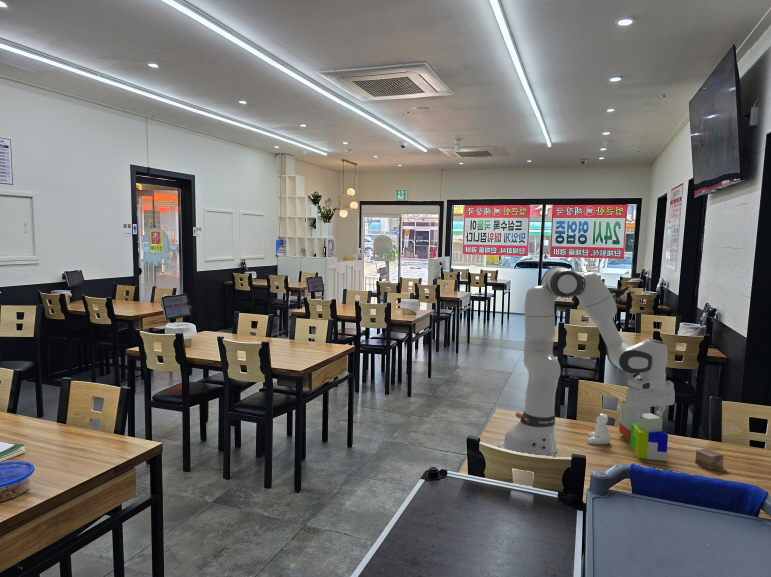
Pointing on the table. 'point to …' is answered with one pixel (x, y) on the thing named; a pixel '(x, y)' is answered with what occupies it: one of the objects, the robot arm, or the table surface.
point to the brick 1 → (650, 423)
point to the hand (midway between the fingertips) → (649, 417)
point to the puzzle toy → (649, 443)
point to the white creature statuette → (600, 432)
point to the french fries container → (629, 418)
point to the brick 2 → (709, 458)
